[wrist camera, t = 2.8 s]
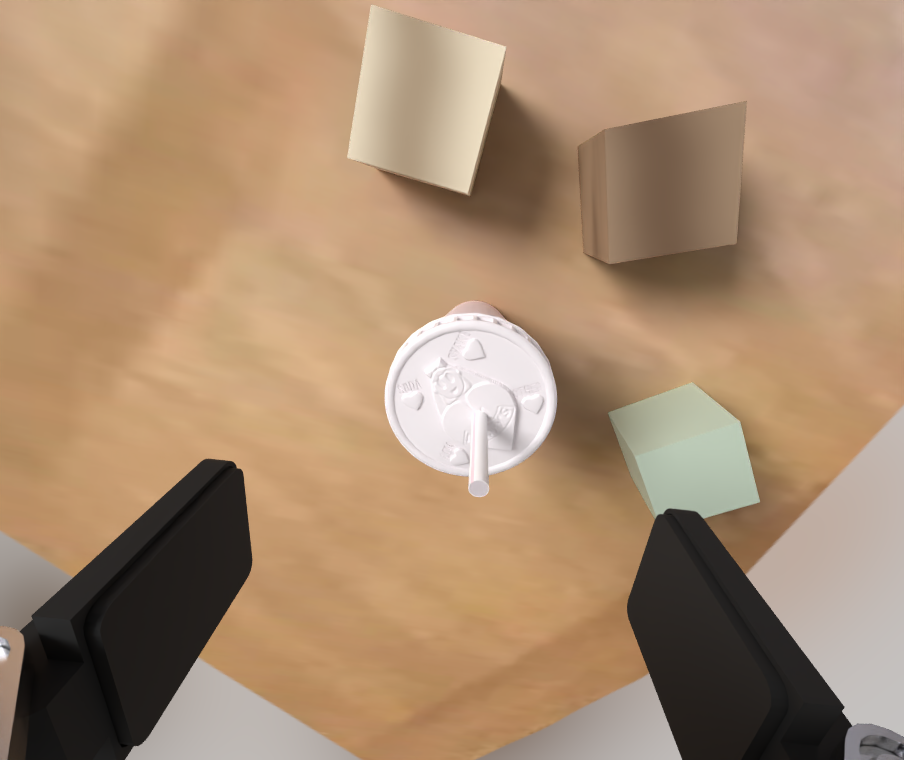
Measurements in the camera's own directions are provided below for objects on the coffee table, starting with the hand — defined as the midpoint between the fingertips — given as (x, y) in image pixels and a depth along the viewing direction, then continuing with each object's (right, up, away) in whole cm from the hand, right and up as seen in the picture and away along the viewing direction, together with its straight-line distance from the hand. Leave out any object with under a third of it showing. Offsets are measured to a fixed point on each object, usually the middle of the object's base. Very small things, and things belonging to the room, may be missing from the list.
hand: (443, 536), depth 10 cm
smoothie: (+2, +6, +15) cm, 16 cm away
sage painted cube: (+13, 0, +16) cm, 21 cm away
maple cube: (-1, +16, +11) cm, 19 cm away
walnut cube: (+9, +13, +12) cm, 20 cm away
